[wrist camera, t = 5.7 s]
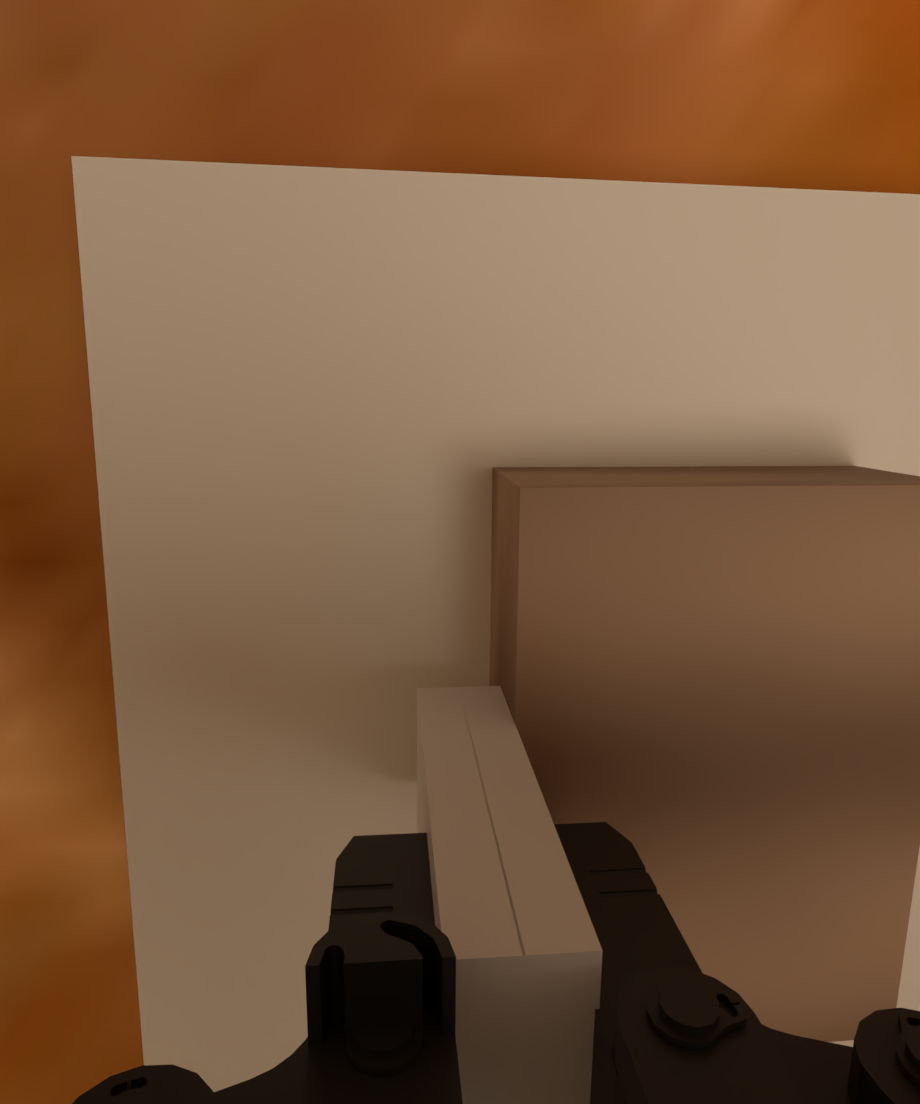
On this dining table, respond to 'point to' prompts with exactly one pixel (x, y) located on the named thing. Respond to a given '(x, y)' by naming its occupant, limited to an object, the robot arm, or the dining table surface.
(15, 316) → the dining table surface
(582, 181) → the cream flat block
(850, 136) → the dining table surface
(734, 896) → the walnut block
